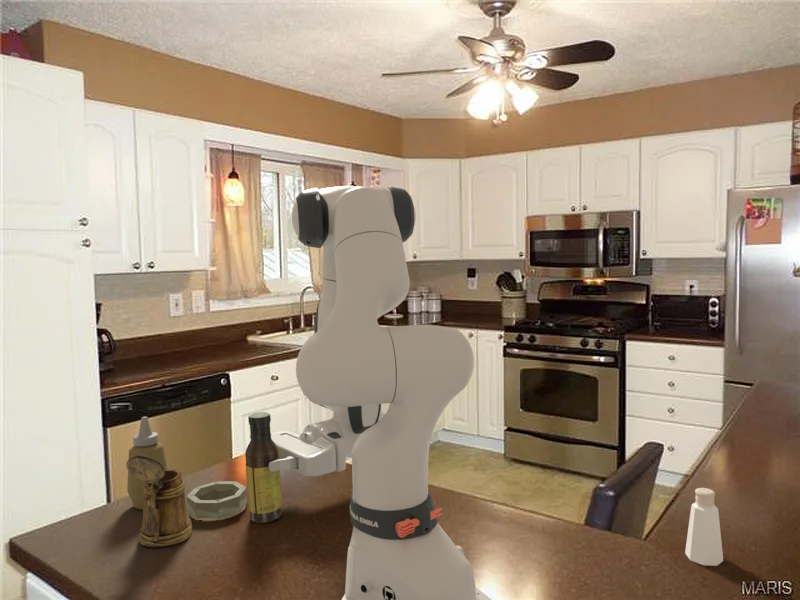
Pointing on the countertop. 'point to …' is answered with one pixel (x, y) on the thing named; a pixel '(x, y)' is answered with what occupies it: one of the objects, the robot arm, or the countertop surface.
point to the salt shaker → (704, 530)
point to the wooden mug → (161, 504)
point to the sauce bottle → (262, 471)
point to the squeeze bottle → (145, 447)
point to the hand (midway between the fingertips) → (258, 461)
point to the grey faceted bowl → (217, 501)
